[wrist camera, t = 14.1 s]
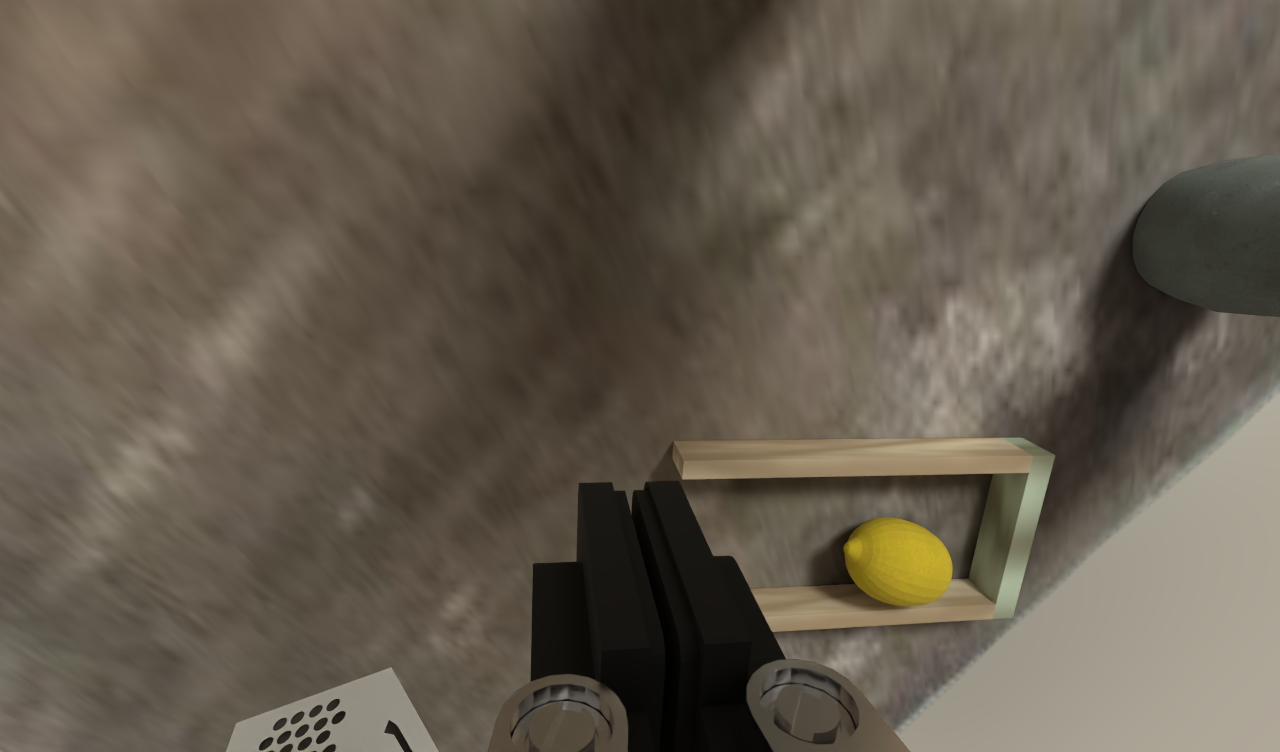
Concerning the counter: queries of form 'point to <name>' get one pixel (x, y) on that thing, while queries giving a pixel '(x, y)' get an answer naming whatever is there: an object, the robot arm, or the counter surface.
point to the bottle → (1215, 237)
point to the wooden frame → (1008, 459)
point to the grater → (357, 734)
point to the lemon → (898, 562)
